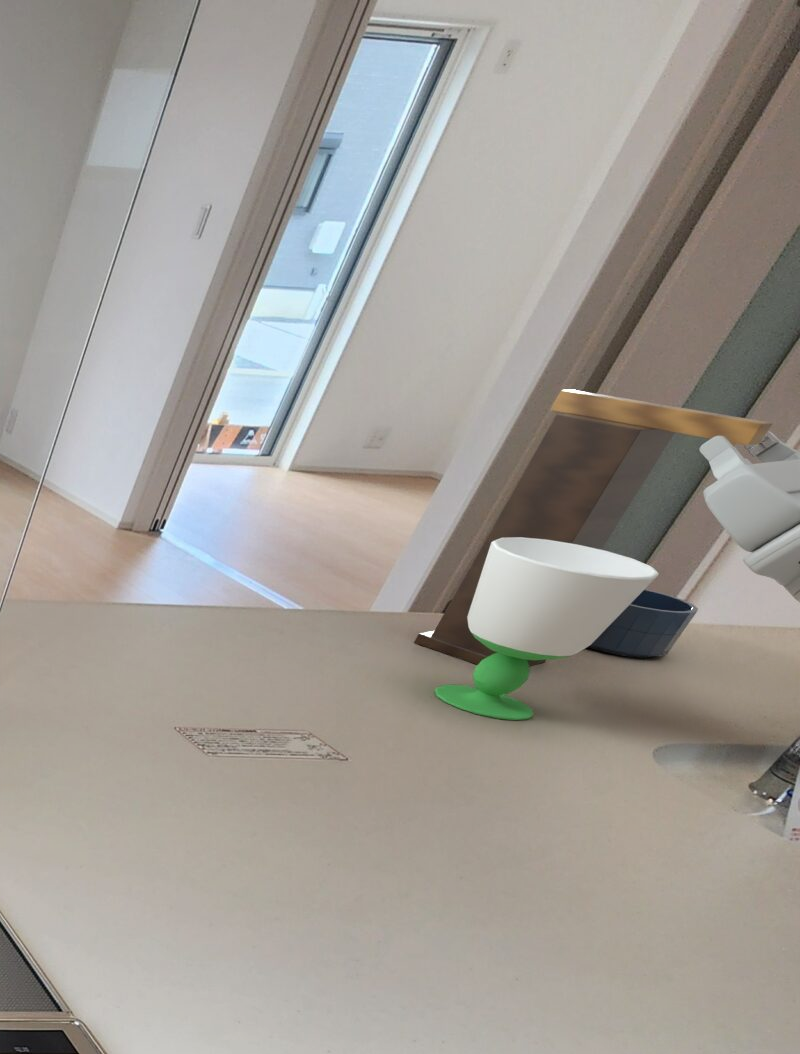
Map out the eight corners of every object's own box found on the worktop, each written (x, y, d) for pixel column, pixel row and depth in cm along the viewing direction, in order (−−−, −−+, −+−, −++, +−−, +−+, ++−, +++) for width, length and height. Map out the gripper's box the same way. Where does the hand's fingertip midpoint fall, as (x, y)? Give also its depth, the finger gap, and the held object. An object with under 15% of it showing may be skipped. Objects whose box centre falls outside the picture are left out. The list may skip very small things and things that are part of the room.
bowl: (682, 654, 138) (715, 607, 134) (637, 665, 133) (670, 616, 130) (582, 624, 146) (611, 579, 142) (536, 633, 141) (565, 587, 138)
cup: (581, 739, 113) (687, 586, 104) (432, 715, 116) (521, 564, 107) (529, 691, 124) (621, 548, 114) (393, 670, 127) (472, 529, 117)
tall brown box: (545, 662, 132) (694, 428, 117) (499, 672, 128) (647, 432, 113) (459, 634, 139) (589, 410, 124) (413, 642, 136) (541, 412, 120)
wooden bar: (759, 444, 110) (773, 422, 109) (747, 445, 110) (762, 423, 108) (561, 409, 123) (572, 389, 122) (549, 410, 122) (560, 390, 121)
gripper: (920, 510, 108) (819, 409, 112) (829, 524, 100) (724, 415, 105) (836, 557, 113) (742, 459, 118) (744, 574, 106) (647, 468, 110)
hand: (733, 438), depth 111 cm, fingers open, 8 cm apart
